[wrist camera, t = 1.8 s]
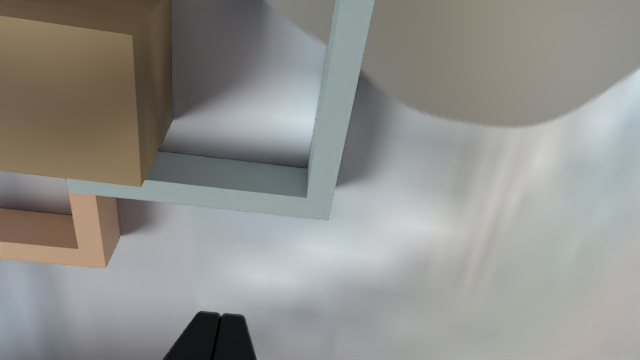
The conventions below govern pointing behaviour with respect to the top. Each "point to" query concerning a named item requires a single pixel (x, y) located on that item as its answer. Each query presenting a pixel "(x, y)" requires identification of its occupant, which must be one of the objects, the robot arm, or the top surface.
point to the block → (84, 87)
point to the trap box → (208, 172)
